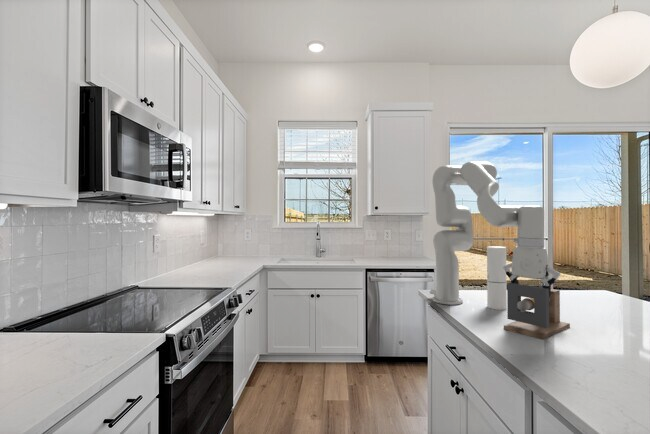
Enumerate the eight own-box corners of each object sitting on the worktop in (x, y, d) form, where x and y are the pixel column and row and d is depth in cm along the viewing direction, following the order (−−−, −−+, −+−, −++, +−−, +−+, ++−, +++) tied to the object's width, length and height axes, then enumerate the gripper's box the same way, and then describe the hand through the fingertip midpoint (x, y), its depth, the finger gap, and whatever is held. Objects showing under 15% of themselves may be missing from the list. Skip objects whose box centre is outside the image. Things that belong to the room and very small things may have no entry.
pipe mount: (503, 329, 116) (503, 293, 116) (532, 318, 127) (532, 286, 127) (542, 339, 106) (542, 300, 106) (569, 327, 117) (569, 291, 117)
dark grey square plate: (507, 318, 117) (507, 283, 117) (510, 317, 118) (510, 282, 118) (546, 328, 107) (546, 289, 107) (549, 326, 108) (549, 288, 108)
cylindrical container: (502, 305, 146) (502, 246, 146) (509, 309, 139) (509, 247, 139) (484, 304, 147) (484, 246, 147) (491, 309, 140) (490, 247, 140)
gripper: (498, 241, 119) (498, 291, 120) (554, 245, 105) (554, 302, 105) (509, 240, 124) (509, 288, 124) (565, 244, 109) (564, 298, 110)
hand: (530, 294), depth 115 cm, fingers open, 9 cm apart
